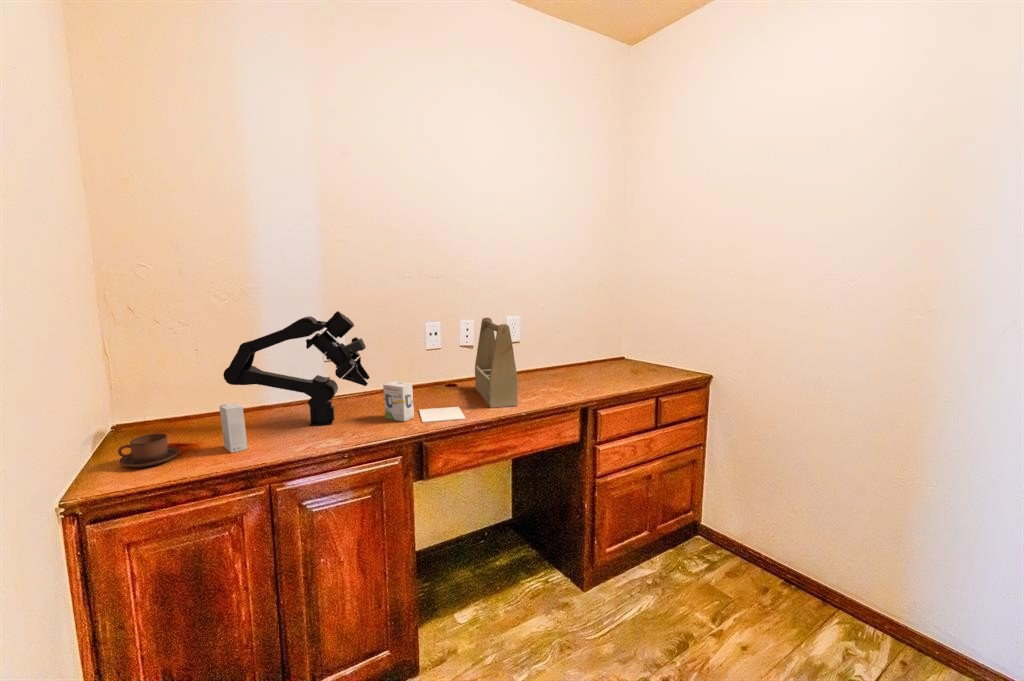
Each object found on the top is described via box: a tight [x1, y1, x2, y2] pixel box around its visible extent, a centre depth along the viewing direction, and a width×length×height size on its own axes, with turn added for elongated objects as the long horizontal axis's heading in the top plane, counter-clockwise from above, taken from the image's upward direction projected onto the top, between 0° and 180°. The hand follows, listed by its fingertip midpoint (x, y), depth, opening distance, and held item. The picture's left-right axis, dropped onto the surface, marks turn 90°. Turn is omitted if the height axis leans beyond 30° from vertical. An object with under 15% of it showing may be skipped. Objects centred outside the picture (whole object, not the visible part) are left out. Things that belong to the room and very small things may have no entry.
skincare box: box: [219, 402, 248, 454], centre depth 125 cm, size 6×4×12 cm
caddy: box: [474, 317, 519, 409], centre depth 178 cm, size 29×11×30 cm, turn 15°
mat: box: [418, 406, 467, 424], centre depth 157 cm, size 14×14×1 cm
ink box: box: [382, 380, 415, 422], centre depth 152 cm, size 9×5×12 cm, turn 62°
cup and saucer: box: [117, 433, 180, 468], centre depth 117 cm, size 12×12×6 cm
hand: (367, 381), depth 150 cm, fingers open, 9 cm apart
